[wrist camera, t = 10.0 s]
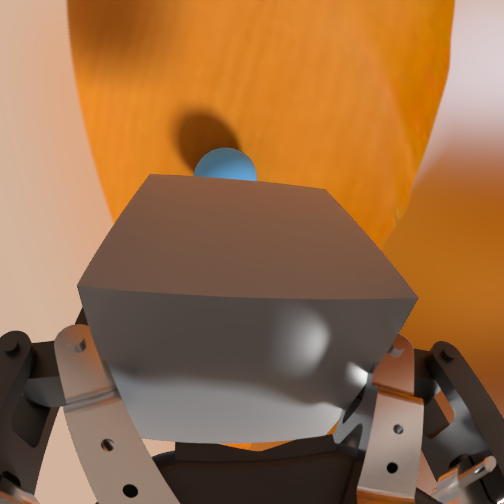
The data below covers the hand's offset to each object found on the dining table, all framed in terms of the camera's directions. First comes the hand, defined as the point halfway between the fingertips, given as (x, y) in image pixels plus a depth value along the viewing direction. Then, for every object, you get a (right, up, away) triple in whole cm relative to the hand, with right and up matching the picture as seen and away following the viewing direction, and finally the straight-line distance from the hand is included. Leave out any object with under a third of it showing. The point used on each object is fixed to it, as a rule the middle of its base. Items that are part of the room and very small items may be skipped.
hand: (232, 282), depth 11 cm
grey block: (0, +1, +2) cm, 2 cm away
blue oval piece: (-1, +7, +12) cm, 14 cm away
